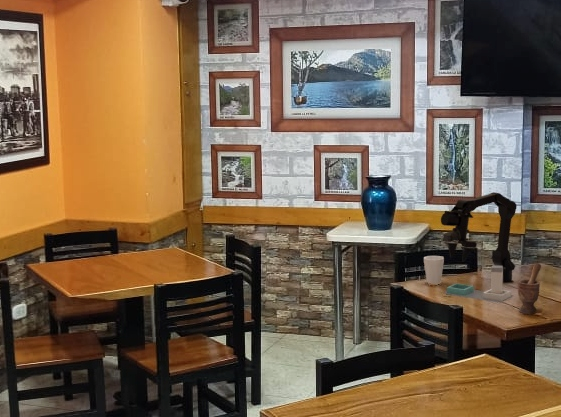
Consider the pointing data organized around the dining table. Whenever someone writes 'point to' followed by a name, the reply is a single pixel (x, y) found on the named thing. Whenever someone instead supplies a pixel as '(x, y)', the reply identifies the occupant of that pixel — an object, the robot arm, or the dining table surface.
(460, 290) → the socket board
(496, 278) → the plug block
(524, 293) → the mortar and pestle
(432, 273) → the foam cup
